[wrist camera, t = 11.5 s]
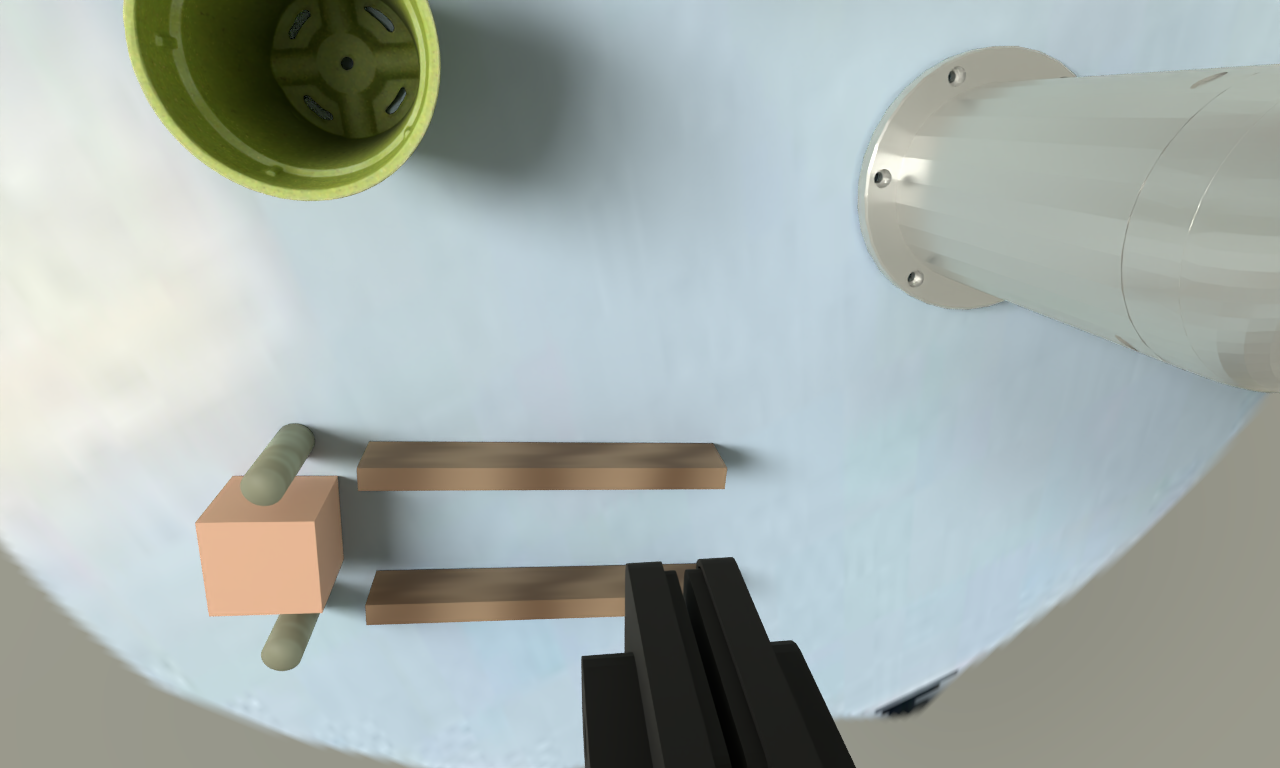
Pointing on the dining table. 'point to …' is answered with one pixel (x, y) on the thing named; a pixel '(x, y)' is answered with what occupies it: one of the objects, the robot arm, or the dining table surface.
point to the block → (271, 549)
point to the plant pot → (289, 87)
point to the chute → (484, 469)
